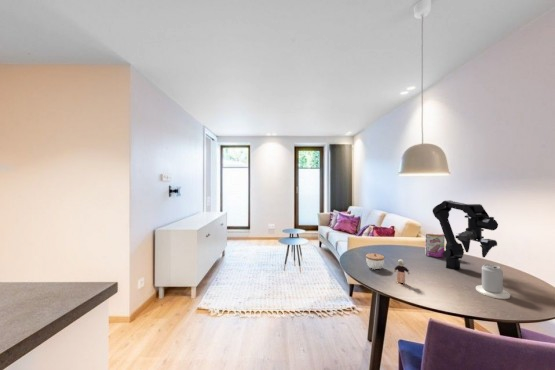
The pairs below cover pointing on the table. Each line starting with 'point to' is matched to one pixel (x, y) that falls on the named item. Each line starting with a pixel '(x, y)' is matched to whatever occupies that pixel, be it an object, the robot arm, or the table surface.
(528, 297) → the table surface
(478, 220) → the robot arm
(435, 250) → the candy bar box
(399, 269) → the grandmother figurine
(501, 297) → the saucer
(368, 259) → the lidded jar
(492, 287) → the can
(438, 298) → the table surface
